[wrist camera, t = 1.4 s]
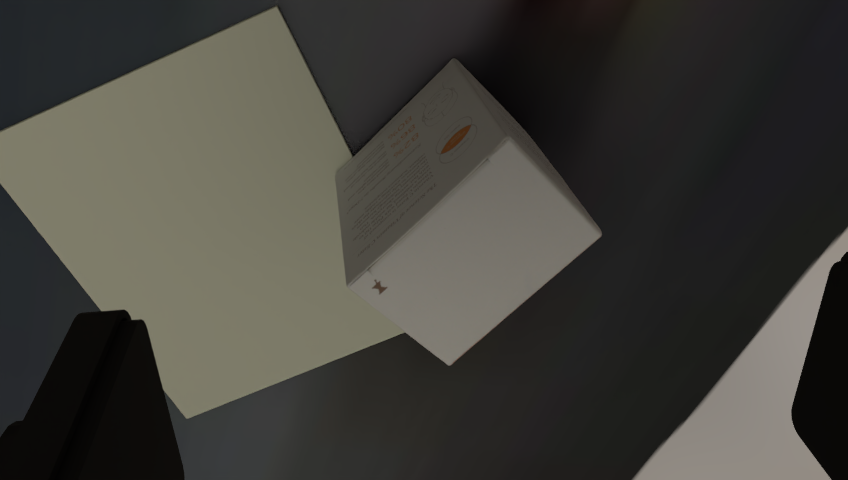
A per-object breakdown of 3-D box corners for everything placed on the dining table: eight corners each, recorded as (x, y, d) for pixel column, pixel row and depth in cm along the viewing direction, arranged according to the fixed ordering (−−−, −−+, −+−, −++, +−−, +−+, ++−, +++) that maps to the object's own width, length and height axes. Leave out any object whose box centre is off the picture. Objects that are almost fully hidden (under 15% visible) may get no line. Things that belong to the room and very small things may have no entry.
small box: (412, 242, 38) (446, 373, 29) (331, 172, 36) (340, 291, 27) (532, 133, 36) (609, 238, 27) (455, 52, 34) (511, 136, 25)
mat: (277, 5, 32) (276, 6, 32) (434, 317, 41) (434, 320, 41) (-27, 143, 34) (-30, 145, 34) (187, 415, 43) (186, 418, 42)
